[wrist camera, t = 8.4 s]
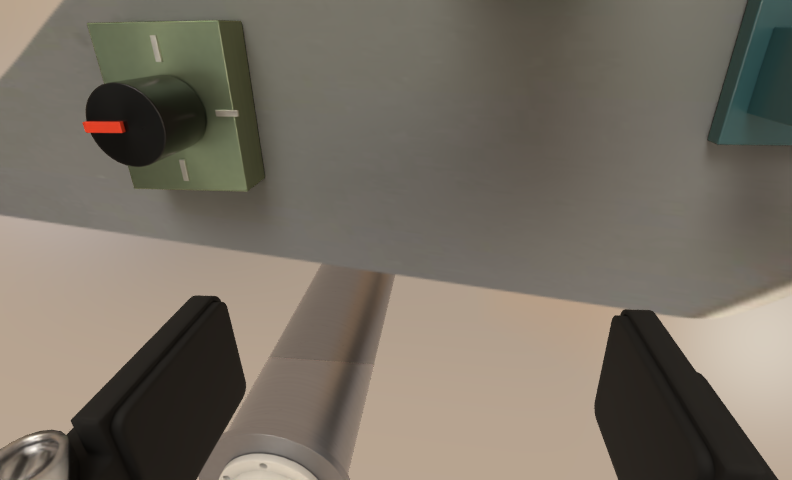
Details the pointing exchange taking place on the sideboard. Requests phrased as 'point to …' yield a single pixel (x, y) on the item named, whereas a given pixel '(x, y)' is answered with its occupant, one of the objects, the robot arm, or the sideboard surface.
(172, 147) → the knob
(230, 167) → the panel
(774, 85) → the teal lever mount
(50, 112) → the sideboard surface
